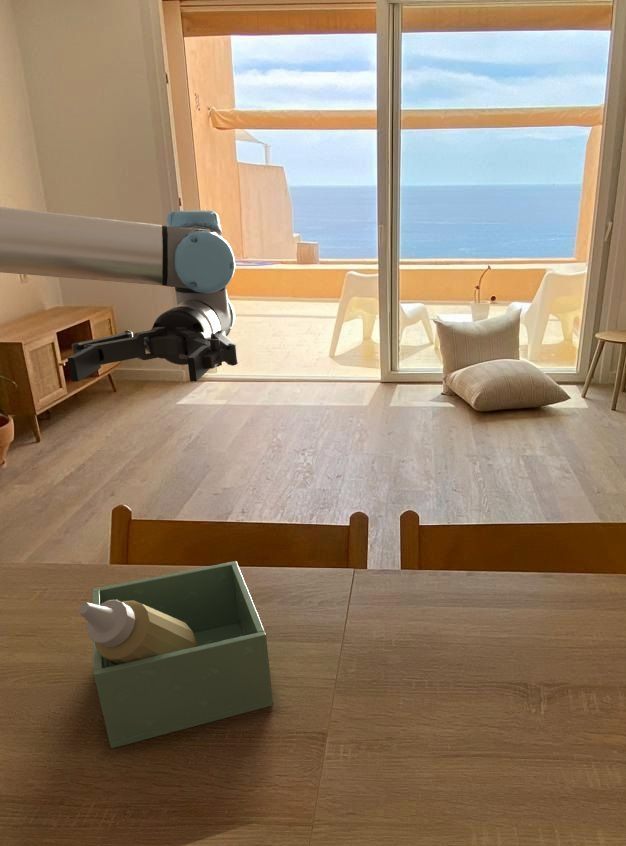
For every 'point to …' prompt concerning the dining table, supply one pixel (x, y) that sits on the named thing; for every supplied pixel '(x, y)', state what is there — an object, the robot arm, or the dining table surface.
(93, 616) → the squeeze bottle
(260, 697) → the storage bin
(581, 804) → the dining table surface
